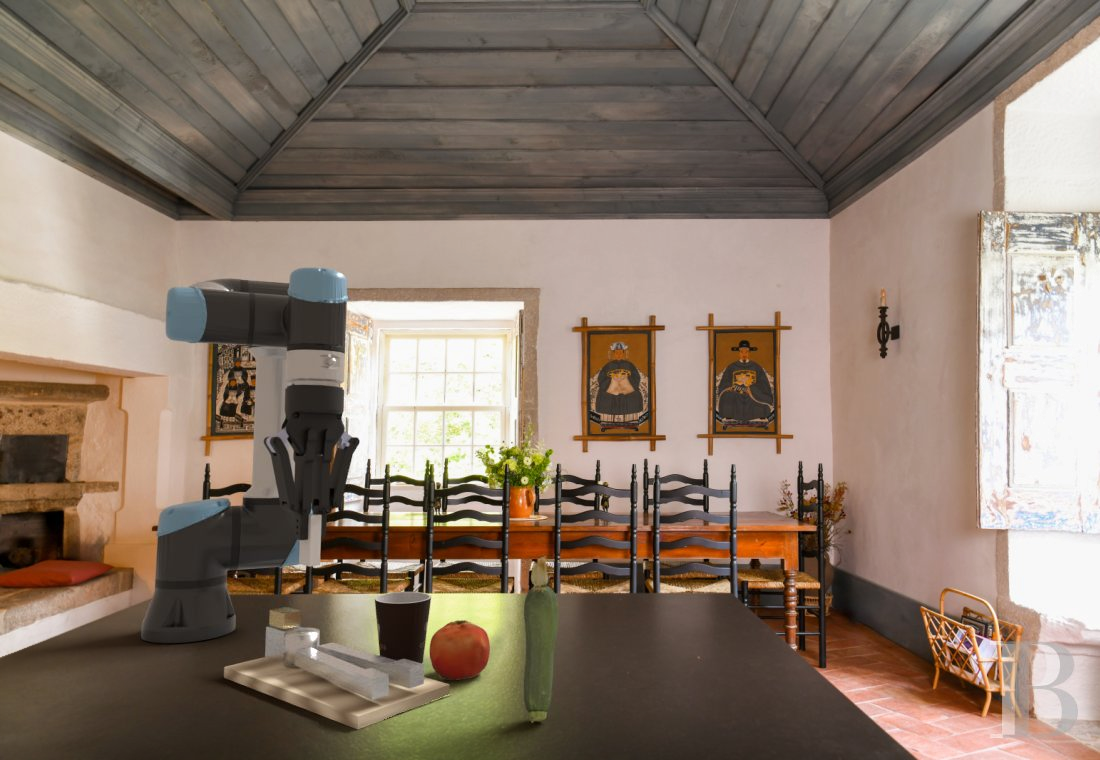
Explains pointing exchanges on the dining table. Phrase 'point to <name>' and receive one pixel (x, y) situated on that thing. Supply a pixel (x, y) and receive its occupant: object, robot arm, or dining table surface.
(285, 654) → the base
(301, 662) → the tong arm
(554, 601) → the vegetable
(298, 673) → the board
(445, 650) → the tomato
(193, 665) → the dining table surface
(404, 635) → the coffee mug
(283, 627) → the tab
